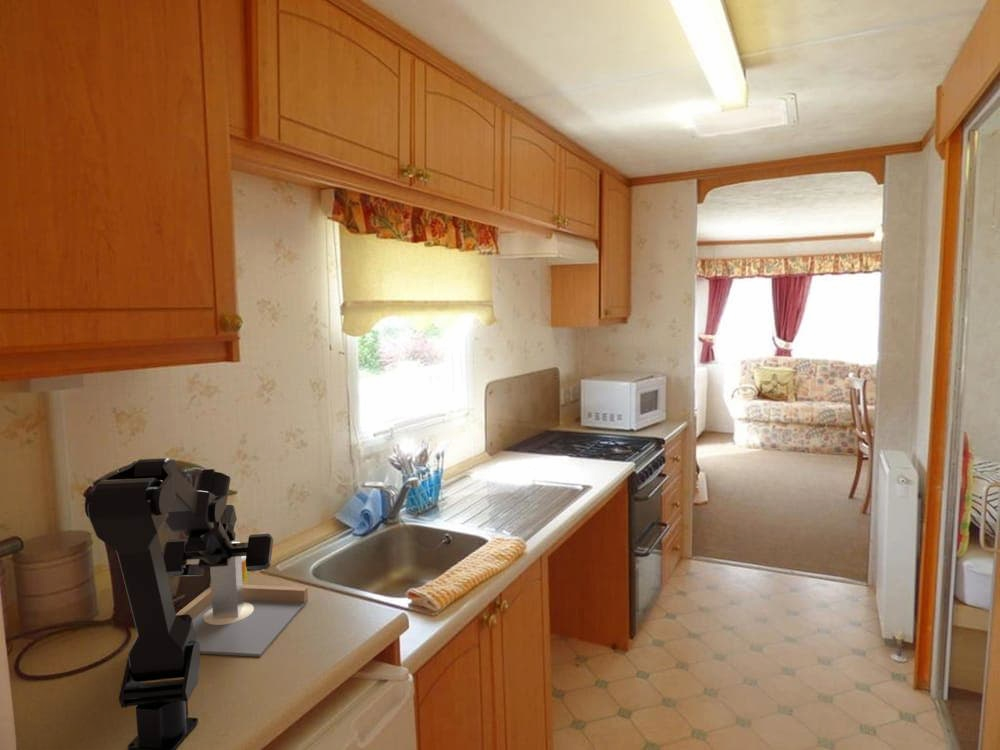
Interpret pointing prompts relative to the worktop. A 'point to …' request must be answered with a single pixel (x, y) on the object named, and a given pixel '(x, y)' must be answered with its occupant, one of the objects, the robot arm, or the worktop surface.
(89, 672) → the worktop surface
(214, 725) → the worktop surface
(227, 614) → the aluminium post
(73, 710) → the worktop surface
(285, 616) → the corner arena
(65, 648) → the worktop surface
